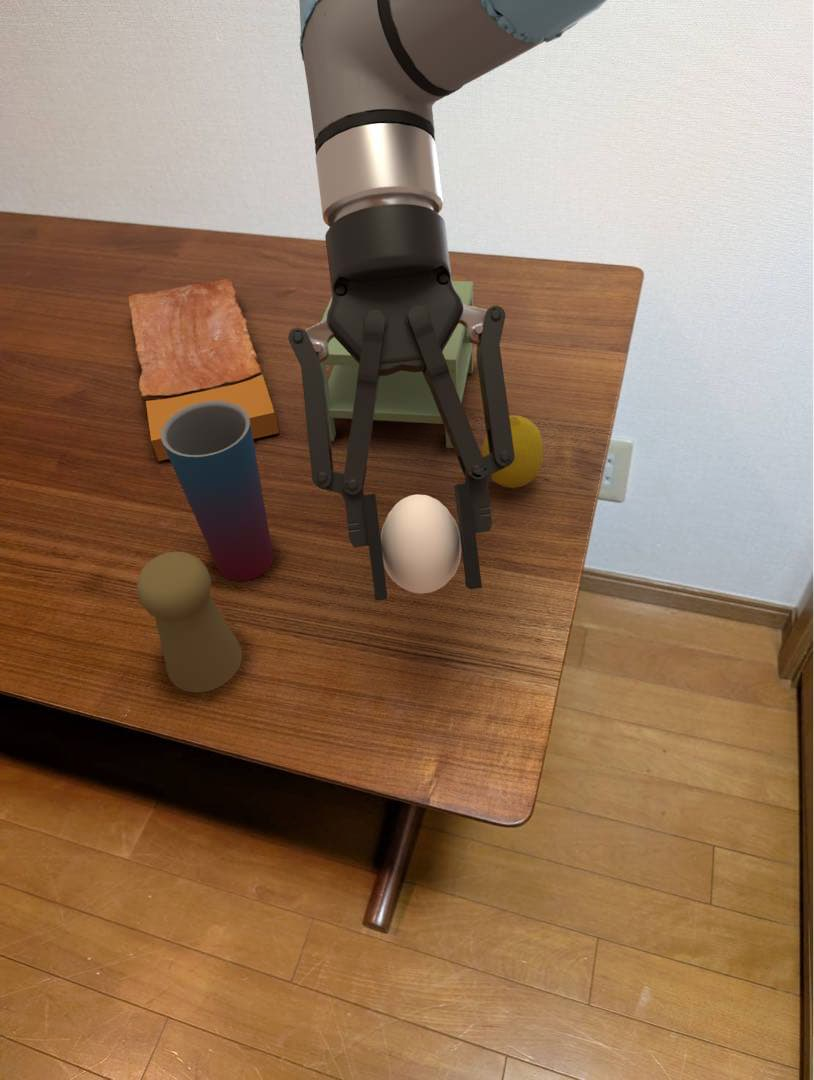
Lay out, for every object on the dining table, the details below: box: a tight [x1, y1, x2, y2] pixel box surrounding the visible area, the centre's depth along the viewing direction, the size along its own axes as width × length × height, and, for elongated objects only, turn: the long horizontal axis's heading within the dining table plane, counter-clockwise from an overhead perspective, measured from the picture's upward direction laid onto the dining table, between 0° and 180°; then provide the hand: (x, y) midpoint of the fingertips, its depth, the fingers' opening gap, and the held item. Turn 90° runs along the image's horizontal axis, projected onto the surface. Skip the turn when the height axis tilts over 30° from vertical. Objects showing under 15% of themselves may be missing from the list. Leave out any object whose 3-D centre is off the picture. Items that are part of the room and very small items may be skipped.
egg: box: [380, 494, 462, 595], centre depth 54 cm, size 5×5×8 cm
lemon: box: [481, 414, 544, 489], centre depth 76 cm, size 6×6×8 cm
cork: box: [136, 551, 243, 694], centre depth 63 cm, size 6×6×11 cm
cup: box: [161, 401, 274, 582], centre depth 69 cm, size 7×7×15 cm
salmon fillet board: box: [127, 278, 280, 462], centre depth 94 cm, size 13×30×3 cm, turn 17°
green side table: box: [320, 280, 474, 449], centre depth 85 cm, size 14×14×12 cm
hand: (427, 591), depth 52 cm, fingers closed on egg, 5 cm apart
